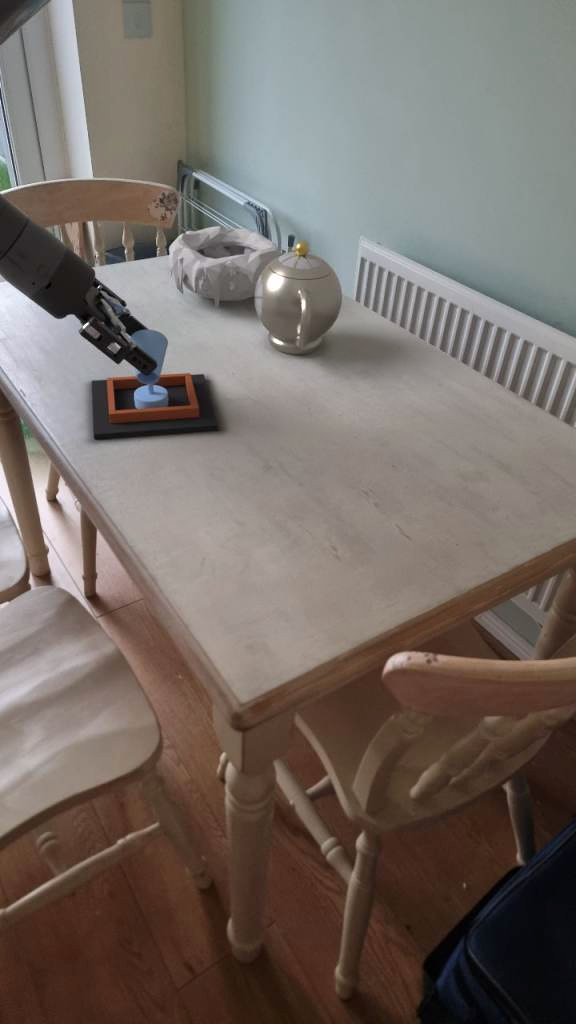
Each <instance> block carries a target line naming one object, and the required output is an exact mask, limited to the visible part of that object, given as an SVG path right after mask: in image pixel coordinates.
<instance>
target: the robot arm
mask: <svg viewBox="0 0 576 1024" xmlns="http://www.w3.org/2000/svg"><path fill="white" fill-rule="evenodd" d="M51 1H52V0H0V47H2V46H3V45H4V44H5V43H6V42H7V41H8V40H10V38H12V37H13V36H14V35H15V34H16V33H17V32H19V30H21V28H23V27H24V26H25V25H26V24H27V23H29V21H30V20H31V19H33V18H34V17H35V16H36V15H37V14H38V13H40V11H42V10H43V9H45V7H46V6H48V4H50V2H51ZM0 277H2V279H4V280H5V281H6V282H7V283H8V284H10V286H12V287H13V288H15V289H16V290H17V291H19V292H20V293H21V294H23V295H24V296H25V297H26V298H28V299H29V300H31V301H32V302H33V303H34V304H36V305H37V306H39V308H41V309H42V310H44V311H45V312H46V313H48V314H49V315H51V316H52V317H53V318H54V319H56V320H62V319H65V318H66V317H68V316H71V315H73V316H74V317H76V319H77V320H78V321H79V323H80V324H81V328H80V329H79V330H78V333H79V335H80V336H81V337H82V338H84V339H85V340H86V341H88V342H89V343H90V344H91V345H92V346H93V347H95V348H96V349H97V350H99V351H100V352H101V353H102V354H104V355H105V356H106V357H107V358H109V359H110V360H111V361H113V362H114V363H115V364H117V365H120V364H121V363H122V362H123V361H126V363H128V364H129V365H131V366H132V367H133V368H134V369H135V368H136V369H137V370H139V371H140V372H141V373H143V374H144V375H146V376H148V375H150V374H151V373H152V372H153V371H154V370H155V369H156V368H157V362H156V360H154V359H153V358H152V357H151V356H149V355H148V354H147V353H146V352H144V351H143V350H142V349H141V348H139V347H138V346H137V345H135V344H134V342H133V341H132V340H131V339H130V338H131V336H132V334H134V333H135V332H137V331H140V330H150V328H148V327H147V326H145V324H143V323H142V322H140V321H139V320H138V319H137V318H136V317H135V316H134V315H132V312H131V310H130V309H129V308H127V306H128V304H127V303H126V301H125V299H122V298H121V297H120V296H119V295H117V294H116V293H115V292H114V291H113V290H111V289H110V288H109V287H108V286H106V285H105V284H104V283H103V282H101V281H100V280H99V279H98V278H97V277H96V269H94V267H92V266H91V265H90V264H89V263H87V262H86V261H85V260H84V259H83V258H82V257H80V255H78V254H77V253H76V252H75V251H74V250H72V249H71V247H69V246H67V245H66V244H65V243H64V242H63V241H61V240H60V239H59V238H58V237H57V236H56V235H54V233H52V232H51V231H50V230H48V229H47V228H46V227H44V226H42V224H40V223H38V222H36V221H35V220H33V218H31V217H29V216H28V215H27V214H26V213H25V212H24V211H23V210H22V209H20V208H19V207H18V206H16V205H15V204H14V203H13V202H12V201H11V200H10V199H8V198H7V197H6V196H5V195H4V194H2V193H1V192H0ZM118 346H119V347H118Z"/></svg>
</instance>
